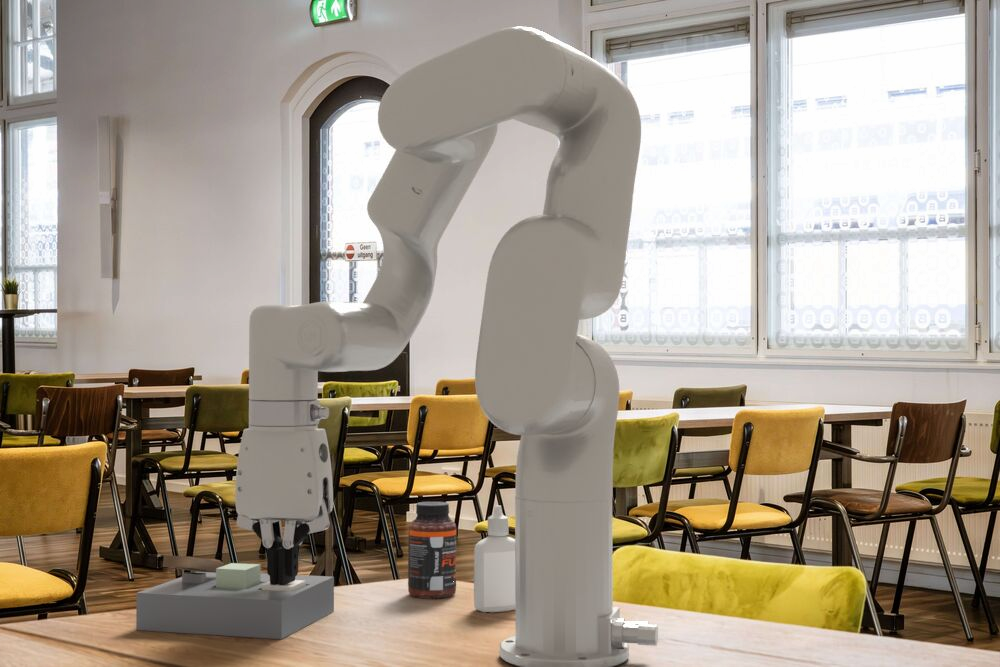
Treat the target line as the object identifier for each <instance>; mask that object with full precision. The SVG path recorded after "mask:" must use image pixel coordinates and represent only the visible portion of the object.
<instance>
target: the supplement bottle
mask: <svg viewBox="0 0 1000 667" xmlns="http://www.w3.org/2000/svg"><path fill="white" fill-rule="evenodd" d="M449 505H450V504H449V503H448V502H447V501H445V502H444V501H421V502H417V503H416V506H415V507H416V509H415V510H416V511H415V513H416V515H417V516H416V517H415V519H413V520H412V521H410V523H409V524H408V530H407V531H408V537H407V538H408V540H407V545H408V546H407V548H408V550H407V552H408V553H407V555H408V556H407V557H408V559H407V561H408V562H407V563H408V564H407V568H408V569H407V571H408V572H407V586H408V588H407V589H408V594H409V595H411V596H412V597H414V598H419V599H432V600H433V599H436V600H437V599H445V598H449V597H451V596H454V595H455V594H456V592H457V525H456V523H455V521H453V520H452V519H451V517H450V516H449V514H450V507H449ZM453 581H454V582H453Z"/></svg>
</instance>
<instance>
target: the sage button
mask: <svg viewBox="0 0 1000 667" xmlns="http://www.w3.org/2000/svg"><path fill="white" fill-rule="evenodd" d="M261 573H262V572H261V564H260V563H259V564H258V563H257V564H256V563H240V562H239V563H236V562H231V563H228V564H224V566H222V567H219V568H216V588H236V589H249V588H251V587H254V586H256V585H259V584H261Z"/></svg>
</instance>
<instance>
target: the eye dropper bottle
mask: <svg viewBox="0 0 1000 667" xmlns="http://www.w3.org/2000/svg"><path fill="white" fill-rule="evenodd" d="M487 535H488V536H487V537H485V538H483V539H481V540H479V541H477V543H476V544H475V545H474V549H473V550H474V551H473V607H474V609H475V610H476V611H480V612H482V613H486V612H490V613H502V612H509V611H515V537H514V538H513V537H511V536H508V535H509V517H508V516H506V515H504V513H503V508H502V505H496V504H495V505H494V510H493V513H492V514H491V515H489V516H488V517H487Z"/></svg>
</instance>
